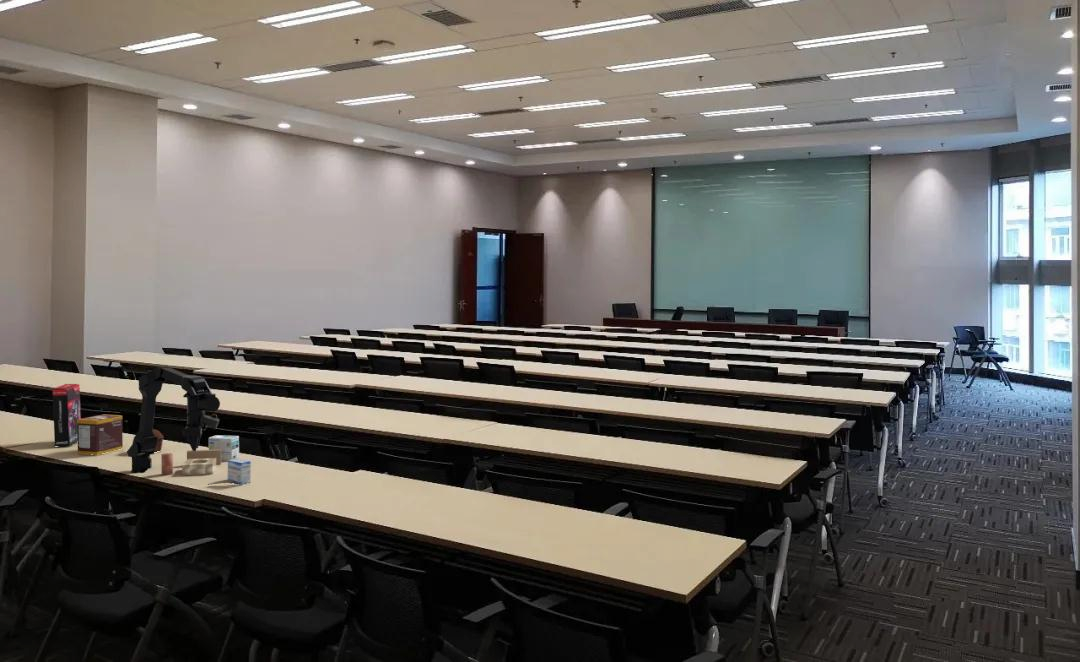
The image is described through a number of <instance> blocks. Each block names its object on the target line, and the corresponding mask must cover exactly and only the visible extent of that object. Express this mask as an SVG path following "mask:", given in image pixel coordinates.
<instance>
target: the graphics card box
mask: <svg viewBox="0 0 1080 662" xmlns="http://www.w3.org/2000/svg"><path fill="white" fill-rule="evenodd" d="M80 393H81V391H80V384H79V383H64V384H62V385H59V386H56V387H53V388H52V408H53V409H52V410H53V411H52V413H53V433H54V435H53V436H54V447H55V446H69V447H71V446H73V445H74V444H76V443H78V442H77V441H78V434H77V420H78V419H82V417H81V416H82V415H81V413H82V412H81V395H80ZM75 442H76V443H75ZM72 444H73V445H72Z"/></svg>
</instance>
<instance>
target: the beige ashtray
mask: <svg viewBox="0 0 1080 662" xmlns="http://www.w3.org/2000/svg"><path fill="white" fill-rule="evenodd" d="M181 465H182V468H181V469H182V471H181V472H182V473H181V474H182V476H195V475H197V476H198V475H200V476H201V475H213V474H214V473H215V470H216V469H217V465H216V458H204V459H187V458H186V460H185V461H184V462H183V464H181Z"/></svg>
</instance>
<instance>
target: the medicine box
mask: <svg viewBox="0 0 1080 662" xmlns="http://www.w3.org/2000/svg"><path fill="white" fill-rule="evenodd" d="M251 463H252V462H251V461H250V460H245V459H244V460H243V459H240V458H239V459H233V460H229V461H227V481H230V482H229V483H228V484H232V483H234V484H233V485H238V484H239V486H244V485H243V484H245V485H248V484H247V483H249V484H251V481H252V480H251V476H252V475H251V471H252V470H251Z"/></svg>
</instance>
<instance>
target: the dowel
mask: <svg viewBox="0 0 1080 662" xmlns="http://www.w3.org/2000/svg"><path fill="white" fill-rule="evenodd" d="M173 458H174V457H173V453H171V452H169V453H168V452H165V453H161V476H171V475H173V474H174V468H173V467H174V460H173Z"/></svg>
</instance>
